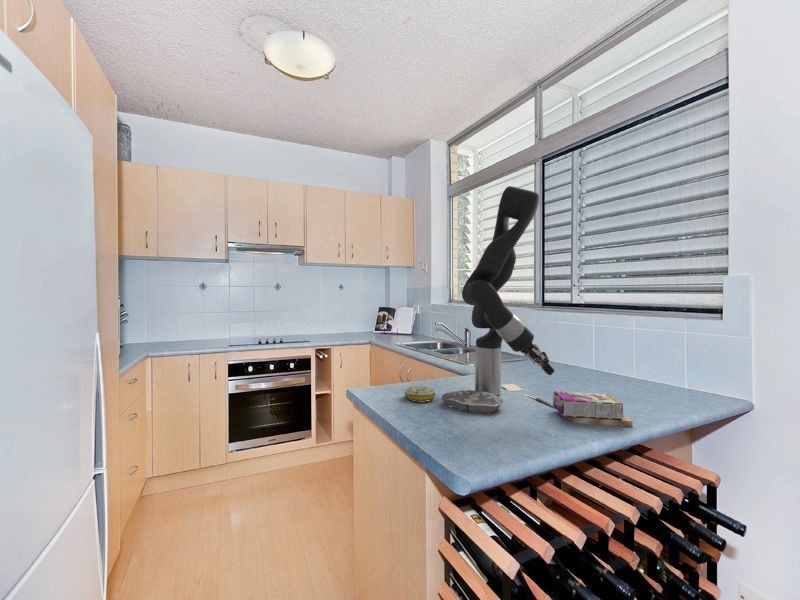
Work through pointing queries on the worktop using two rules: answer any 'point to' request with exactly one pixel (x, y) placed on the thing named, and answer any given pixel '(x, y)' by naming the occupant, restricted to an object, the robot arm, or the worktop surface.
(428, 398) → the decorated donut
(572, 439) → the worktop surface
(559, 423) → the worktop surface
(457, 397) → the flat grey stone
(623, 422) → the bamboo board
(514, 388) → the spatula
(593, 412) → the candy bar box
